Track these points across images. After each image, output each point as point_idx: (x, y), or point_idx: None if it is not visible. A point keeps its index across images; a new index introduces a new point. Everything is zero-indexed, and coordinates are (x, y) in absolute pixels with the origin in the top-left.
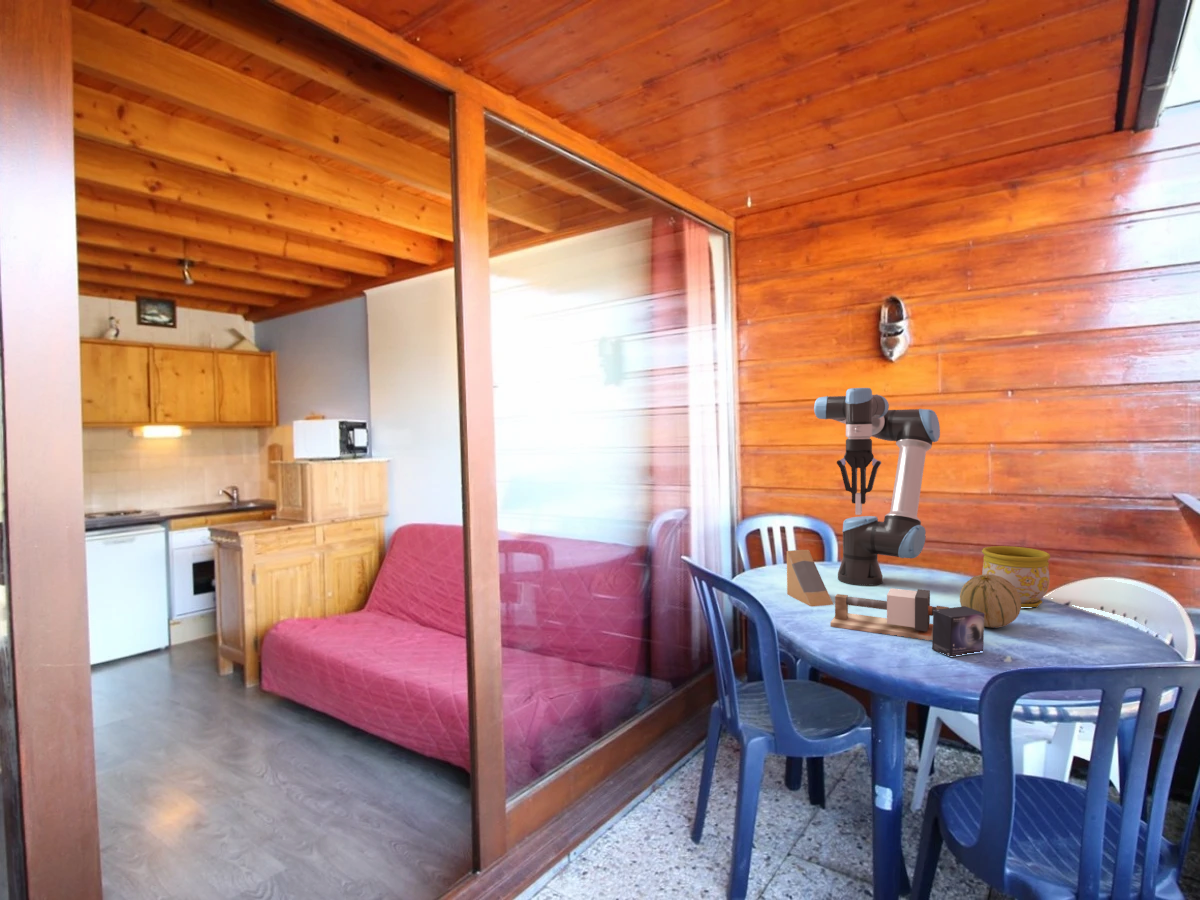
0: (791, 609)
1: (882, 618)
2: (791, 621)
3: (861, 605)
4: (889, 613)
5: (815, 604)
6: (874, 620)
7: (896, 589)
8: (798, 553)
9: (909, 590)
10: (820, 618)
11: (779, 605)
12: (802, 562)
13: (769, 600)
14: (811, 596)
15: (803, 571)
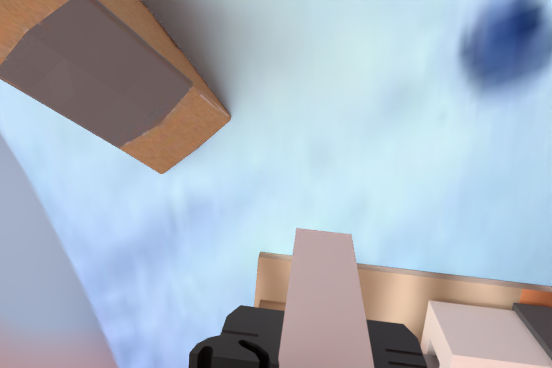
0: (109, 230)
1: (401, 282)
2: (137, 349)
3: None
4: None
5: (172, 160)
6: (375, 310)
7: (474, 366)
8: None
9: (525, 365)
10: (212, 295)
11: (61, 198)
12: (29, 42)
13: (13, 149)
14: (147, 148)
15: (63, 80)
